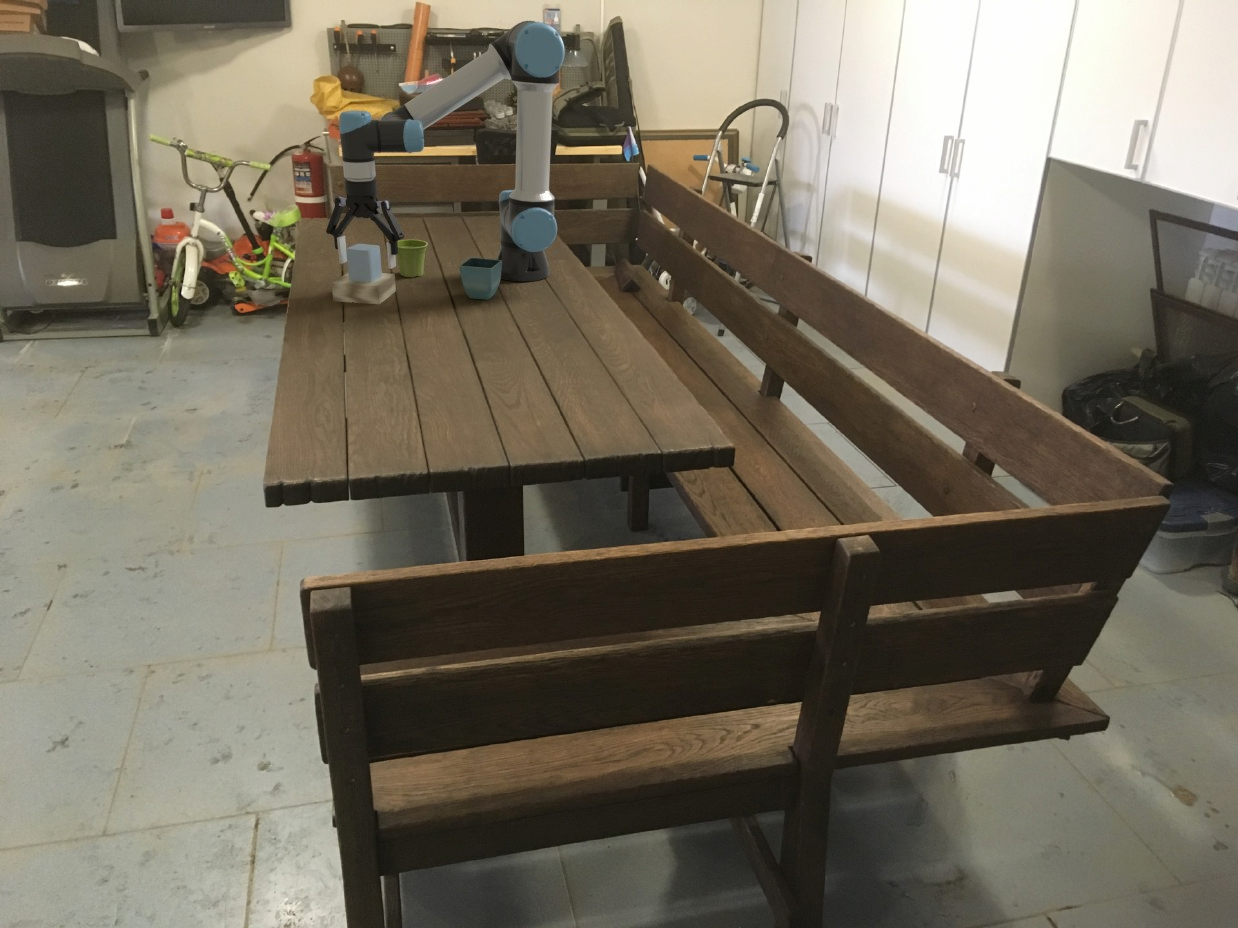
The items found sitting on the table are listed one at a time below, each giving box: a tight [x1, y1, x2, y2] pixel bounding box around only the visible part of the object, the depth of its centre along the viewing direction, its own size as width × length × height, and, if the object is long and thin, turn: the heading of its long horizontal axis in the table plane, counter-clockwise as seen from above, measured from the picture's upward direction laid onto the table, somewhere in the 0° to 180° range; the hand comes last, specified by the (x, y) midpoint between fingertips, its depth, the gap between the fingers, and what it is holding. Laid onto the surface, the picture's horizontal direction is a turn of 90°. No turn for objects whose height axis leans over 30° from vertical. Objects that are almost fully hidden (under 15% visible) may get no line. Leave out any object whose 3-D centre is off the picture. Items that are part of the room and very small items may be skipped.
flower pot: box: [458, 257, 502, 300], centre depth 252 cm, size 9×9×9 cm
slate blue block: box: [346, 243, 383, 283], centre depth 248 cm, size 6×6×8 cm
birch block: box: [331, 272, 397, 305], centre depth 251 cm, size 12×12×5 cm
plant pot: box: [396, 239, 429, 279], centre depth 270 cm, size 9×9×9 cm
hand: (367, 265), depth 249 cm, fingers open, 13 cm apart
